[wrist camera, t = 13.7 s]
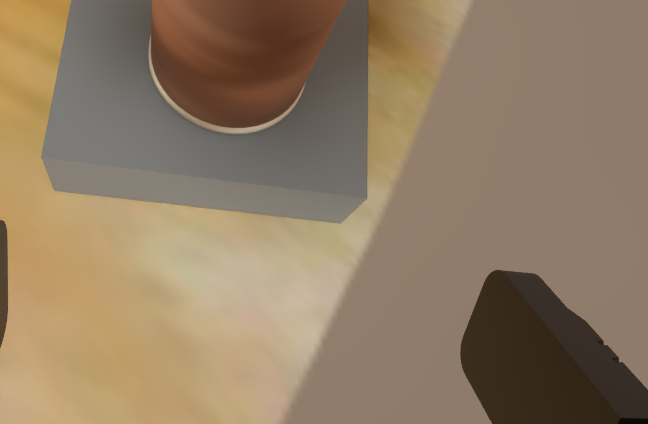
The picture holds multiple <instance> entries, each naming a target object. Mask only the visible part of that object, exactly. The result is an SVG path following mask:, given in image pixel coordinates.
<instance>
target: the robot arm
mask: <svg viewBox="0 0 648 424" xmlns="http://www.w3.org/2000/svg"><path fill="white" fill-rule="evenodd" d="M7 314H8V256H7V228H6V224H5V222H4V221H2V220H0V347H1V344H2V341H3V338H4V333H5V328H6V322H7ZM460 353H461V364H462V368H463V371H464V373H465V375H466V377H467V379H468V380H469V382H470V384H471V386H472V388H473V389H474V391H475V393H476V395H477V397H478V399H479V400H480V402H481V404H482V406H483V408H484V409H485V411H486V413H487V415H488V417H489V419H490V420H491V422H492V424H648V390H647V389H646V388H645V386H644V385H643V384H642V383H641V382H640V381H639V380H638V379H637V378H636V376H635V375H634V374H633V373H632V372H631V371H630V370H629V369H628V368H627V366H625V364H624V363H622V362H619V358H618V356H616V354H615V353H614V352H613V351H612V350H611V349H610V348H609V347H608V346H607V345H604V344H603V340H602V339H601V338H600V337H599V335H598V334H597V333H596V332H595V331H594V330H593V329H592V328H591V327H590V325H589V324H588V323H587V322H586V321H585V320H583V319H582V318H581V317H579V316H578V315H576V314H575V313H574V312H572V311H571V310H569V309H568V308H567V307H566V306H565V305H564V304H563V303H562V302H561V300H560V299H559V298H558V297H557V296H556V295H555V294H554V293H553V291H552V290H551V289H550V288H549V287H548V286H547V285H546V284H545V282H544V281H543V280H542V279H541V278H540V277H539V276H538V275H536V274H532V273H522V272H511V271H502V270H495V271H493V272H491V273H490V274H489V275H488V277H487V278H486V280H485V282H484V285H483V287H482V290H481V292H480V295H479V297H478V300H477V303H476V305H475V308H474V310H473V313H472V315H471V318H470V320H469V323H468V326H467V328H466V331H465V333H464V336H463V339H462V343H461V352H460Z"/></svg>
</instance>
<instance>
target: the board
mask: <svg viewBox="0 0 648 424" xmlns="http://www.w3.org/2000/svg"><path fill="white" fill-rule="evenodd" d="M151 25H152V0H72V1H71V6H70V11H69V16H68V22H67V27H66V32H65V37H64V42H63V47H62V53H61V58H60V63H59V68H58V73H57V79H56V84H55V89H54V94H53V99H52V104H51V110H50V115H49V120H48V125H47V130H46V135H45V141H44V146H43V151H42V156H41V158H42V160H43V163H44V165H45V168H46V170H47V173H48V175H49V178H50V180H51V183H52V186H53V188H54V191H62V192H71V193H80V194H88V195H97V196H106V197H115V198H123V199H132V200H141V201H150V202H158V203H167V204H176V205H185V206H193V207H202V208H211V209H219V210H228V211H237V212H246V213H254V214H263V215H272V216H281V217H289V218H298V219H307V220H316V221H324V222H333V223H341V222H342V221H344V220H345V219H346V218H347V217H348V216H349V215H350V214H351V213H352V212H353V211H354V210H355V209H356V208H358V207H359V206H360V205H361V204H362V203H363V202H364V201H365V200H366V199H367V128H368V0H346V2H345V4H344V6H343V8H342V10H341V12H340V14H339V16H338V18H337V20H336V22H335V24H334V26H333V28H332V30H331V32H330V34H329V36H328V38H327V40H326V42H325V44H324V46H323V48H322V50H321V52H320V54H319V56H318V58H317V60H316V62H315V64H314V66H313V68H312V70H311V72H310V74H309V76H308V78H307V80H306V83H305V87H304V90H303V92H302V94H301V96H300V98H299V100H298V102H297V104H296V105H295V107H294V108H293V109H292V111H291V112H290V113H289V114H288V115H287V116H286V117H285V118H283V119H282V120H281V121H280V122H278V123H277V124H275V125H273V126H271V127H269V128H267V129H265V130H262V131H258V132H255V133H249V134H242V135H229V134H221V133H216V132H212V131H208V130H205V129H202V128H200V127H198V126H196V125H194V124H192V123H190V122H189V121H187V120H185V119H184V118H183V117H181V116H180V115H179V114H177V113H176V112H175V111H174V110H173V109H172V108H171V107H170V106H169V105H168V104H167V103H166V102H165V100H164V99H163V98H162V96H161V95H160V93H159V92H158V90H157V88H156V86H155V84H154V82H153V79H152V76H151V72H150V68H149V59H148V53H149V41H150V37H151Z"/></svg>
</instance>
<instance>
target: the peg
mask: <svg viewBox="0 0 648 424" xmlns="http://www.w3.org/2000/svg"><path fill="white" fill-rule="evenodd" d="M345 2H346V0H152V25H151V37H150V41H149V53H148V59H149V68H150V72H151V76H152V79H153V82H154V84H155V86H156V88H157V90H158V92H159V93H160V95H161V96H162V98H163V99H164V100H165V102H166V103H167V104H168V105H169V106H170V107H171V108H172V109H173V110H174V111H175V112H176V113H177V114H179V115H180V116H181V117H183V118H184V119H185V120H187V121H189V122H190V123H192V124H194V125H196V126H198V127H200V128H202V129H205V130H208V131H212V132H216V133H221V134H229V135H242V134H249V133H255V132H258V131H262V130H265V129H267V128H269V127H271V126H273V125H275V124H277V123H278V122H280V121H281V120H282V119H283V118H285V117H286V116H287V115H288V114H289V113H290V112H291V111H292V109H293V108H294V107H295V105H296V104H297V102H298V100H299V98H300V96H301V94H302V92H303V90H304V87H305V83H306V80H307V78H308V76H309V74H310V72H311V70H312V68H313V66H314V64H315V62H316V60H317V58H318V56H319V54H320V52H321V50H322V48H323V46H324V44H325V42H326V40H327V38H328V36H329V34H330V32H331V30H332V28H333V26H334V24H335V22H336V20H337V18H338V16H339V14H340V12H341V10H342V8H343V6H344V4H345Z"/></svg>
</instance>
